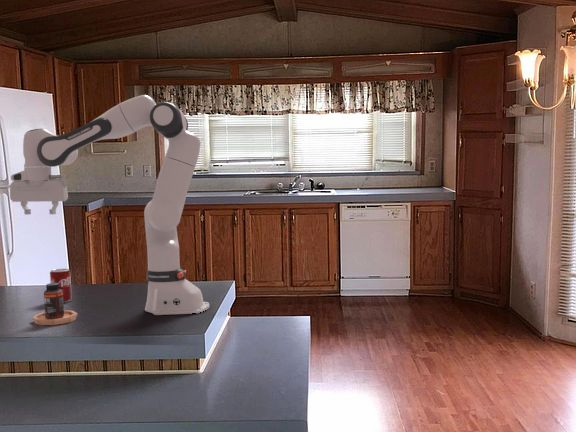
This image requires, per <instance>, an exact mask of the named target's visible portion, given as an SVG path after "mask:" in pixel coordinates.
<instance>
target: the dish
mask: <svg viewBox="0 0 576 432" xmlns="http://www.w3.org/2000/svg"><path fill="white" fill-rule="evenodd" d="M77 317H78V312H76V311H74V310H69V309H68V310H66V309H64V316H63V317H61V318H58V319H47V318H46V317H45V311H44V312H40V313H37V314H36V315H34V316H32V320H33V324H35V325H37V326H43V325H50V326H57V325H59V324H60V325H65V324H68V323H72V322H74V321H75V320H76V319H77ZM60 325H59V326H60Z"/></svg>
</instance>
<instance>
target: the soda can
mask: <svg viewBox="0 0 576 432" xmlns="http://www.w3.org/2000/svg"><path fill="white" fill-rule="evenodd" d="M71 274H72V273H71V269H69V268H57V269H51V271H50V272H49V281H50V282H49V283H59V288H60V289H61V290H62V291H63V304H64V303H70V302H71V301H72V299H73V296H72V294H73V293H72V280H71V279H72V278H71Z"/></svg>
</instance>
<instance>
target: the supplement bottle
mask: <svg viewBox="0 0 576 432" xmlns="http://www.w3.org/2000/svg"><path fill="white" fill-rule="evenodd" d="M45 287H46V290H44V291H43V302H44V312H45V317H46V318H47V319H58V318H61V317H63V316H64V310H65V308H64V307H65V304H64V303H63V291H62V290H61V289H60V288H59V283H50V282H49V283H47V284H45Z"/></svg>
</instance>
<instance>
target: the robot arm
mask: <svg viewBox="0 0 576 432" xmlns="http://www.w3.org/2000/svg"><path fill="white" fill-rule="evenodd" d="M146 127H152V128H153V129H155V131H156V132H157V133H158V134H159V135H160V136H161V137H163V138H165V139H167V141H168V147H167V150H166V153H165V156H164V158H163V162H162V165H161V168H160V169H159V170H160V171H159V173H158V175H157V180H156V185H155V187H154V191H153V196H152V198H151V200H150V201H149V202H147V204H146V206H145V207H144V210H143V211H144V212H143V214H144V229H145V240H146V241H145V242H146V252H147V270H146V284H147V285H146V286H147V297H146V303H145V307H144V311H145V312H147V313H150V314H152V315H154V316H163V315H167V316H168V315H189V314H190V315H193V314H192V313H196V314H200V312H201V313H203V311H204V312H205V310H206V311H207V310H208V309H209V308H210V303H209V302H208V301H204V298H203V293H202V291H201V290H202V289H200V287H197V286H196V285H194V284H193V283H192V282H191V281H189V280H188V279H186V274H187V270H186V269H182V268H181V265H180V244H179V238H178V229H177V227H178V226H179V224H180V222H181V217H182V214H183V210H184V206H185V203H186V198H187V196H188V195H187V194H188V190H189V188H190V184H191V180H192V179H193V175H194V172H195V170H196V166H197V162H198V160H199V155H200V151H201V150H200V149H201V140H200V138H199V137H198V136H197V135H196V134H195V133H193V132H191V131H188V130H189V123H188V119H187V118H186V115H185V114H184V112H182V110H181V109H180V108H178V106H177V105H175V104H174V103H171V102H169V101H162V102H159V103H156V101H155V99H153V98H152V97H151V96H149V95H147V94H141V95H138V96H135V97H132V98H129V99H127V100H124V101H123V102H120V103H118V104H117V105H115V106H113V107H111V108H110V109H108V110H107V111H105V112H104V113H102V114H101V115H99V116H98V117H96V118H94V119H93V120H91V121H90V122H88V123H86V124H84V125H82V126H80V127H78V128H75V129H73V130H71V131H69V132H67V133H64V134H62V135H57V134H54V133H52V132H50V131H49V130H48V129H46V128H35V129H29V130H27V131H26V132H24V135H23V136H24V137H23V141H22V142H23V143H22V144H23V145H22V153H23V159H24V164H23V165H24V166H23V168H24V169H23V170H22V171H19V172H16V173H13V174H11V176H10V179H11V181H12V182H11V183H10V187H9V198H10V200H11V202H13V203H14V202H15V203H18V202H19V203H20V207H22V209H23V211H24V212H23V213H24V215H25V216H26V215H31V214H32V210H31V209H30V208H29V207H28V202H33V203H34V202H38V203H39V202H51V205H52V207H51V208H49V210H48V211H49V215H56V214H57V208H58V206H59V202H66V201H67V200H68V199H69V193H68V187H67V184H68V183H67V178H66V177H65V176H63V175H61V174H58V175H56V174H52V167H54V168H55V167H58V166H69V165H72V164H74V163H75V162H76V161H77V159H78V157H79V150H80V149H81V148H85V147H86V146H88V145H90V144H92V143H94V142H99V141H101V140H115V139H120V138H124V137H128V136H130V135H132V134H134V133H136V132H138V131H140V130H141V129H144V128H146Z"/></svg>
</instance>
